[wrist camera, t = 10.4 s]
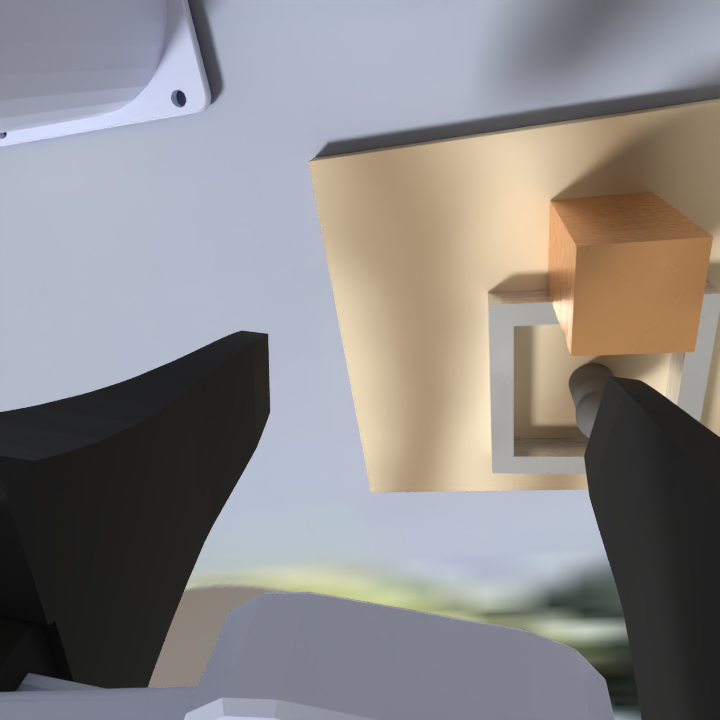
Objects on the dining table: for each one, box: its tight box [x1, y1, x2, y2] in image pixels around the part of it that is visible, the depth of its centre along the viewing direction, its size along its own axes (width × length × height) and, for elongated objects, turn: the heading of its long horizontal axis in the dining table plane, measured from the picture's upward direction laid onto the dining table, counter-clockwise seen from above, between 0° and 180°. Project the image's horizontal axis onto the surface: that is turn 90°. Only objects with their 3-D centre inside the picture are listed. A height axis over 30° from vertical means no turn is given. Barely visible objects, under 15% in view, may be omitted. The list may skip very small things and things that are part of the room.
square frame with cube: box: [487, 192, 720, 474], centre depth 18 cm, size 10×7×5 cm
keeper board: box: [309, 98, 720, 492], centre depth 19 cm, size 18×14×4 cm
